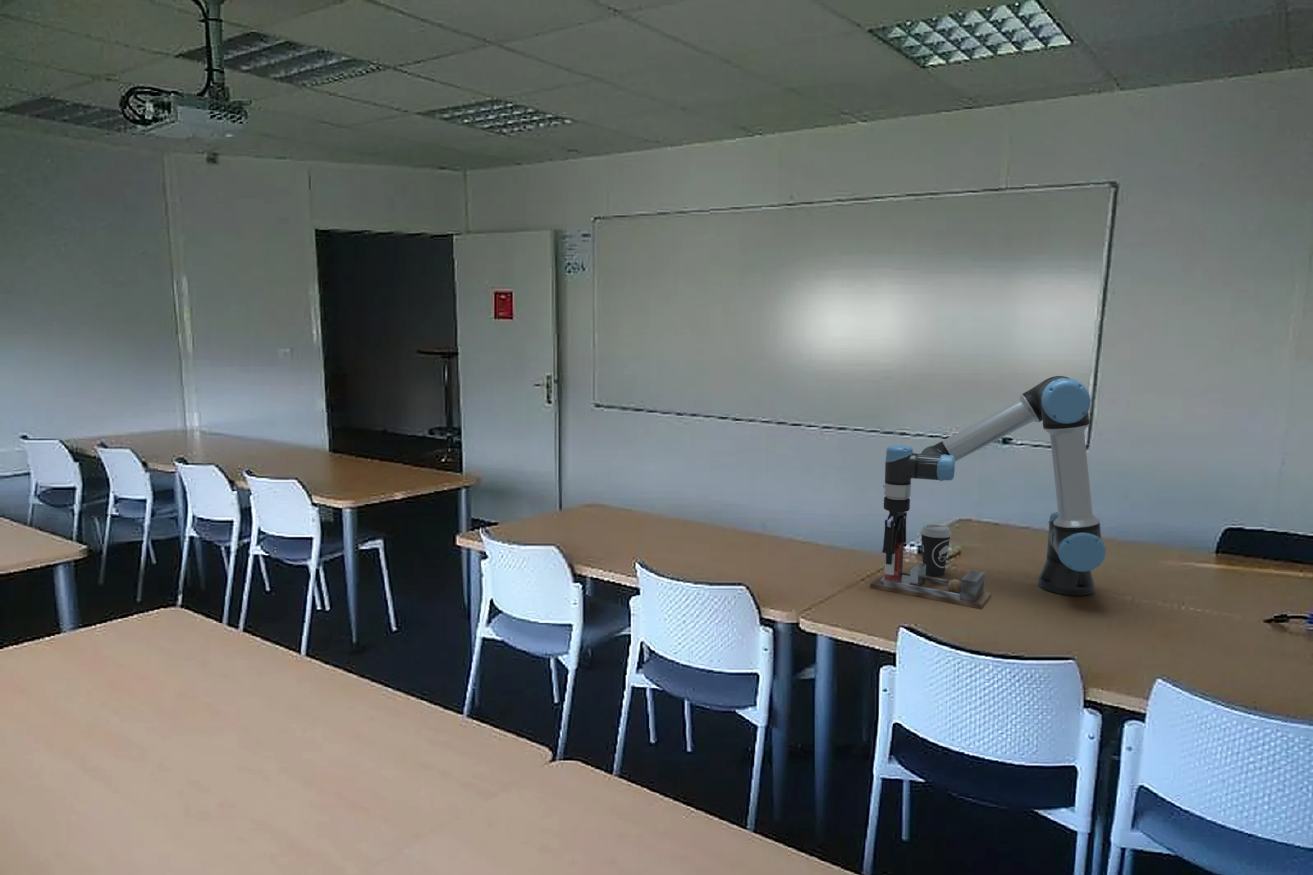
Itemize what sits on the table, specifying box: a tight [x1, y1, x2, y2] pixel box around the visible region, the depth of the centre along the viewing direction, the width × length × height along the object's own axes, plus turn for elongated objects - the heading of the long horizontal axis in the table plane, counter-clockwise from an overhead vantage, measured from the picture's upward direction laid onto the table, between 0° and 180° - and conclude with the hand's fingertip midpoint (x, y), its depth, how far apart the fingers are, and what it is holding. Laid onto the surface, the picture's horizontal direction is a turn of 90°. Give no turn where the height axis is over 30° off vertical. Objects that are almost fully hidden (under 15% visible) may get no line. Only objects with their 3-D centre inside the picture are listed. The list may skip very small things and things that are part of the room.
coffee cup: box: [919, 523, 953, 577], centre depth 258 cm, size 10×10×15 cm
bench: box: [869, 570, 992, 610], centre depth 240 cm, size 32×12×7 cm, turn 56°
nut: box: [948, 578, 961, 593], centre depth 236 cm, size 4×4×4 cm
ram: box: [881, 541, 927, 586], centre depth 244 cm, size 11×8×12 cm
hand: (893, 570), depth 246 cm, fingers open, 7 cm apart
